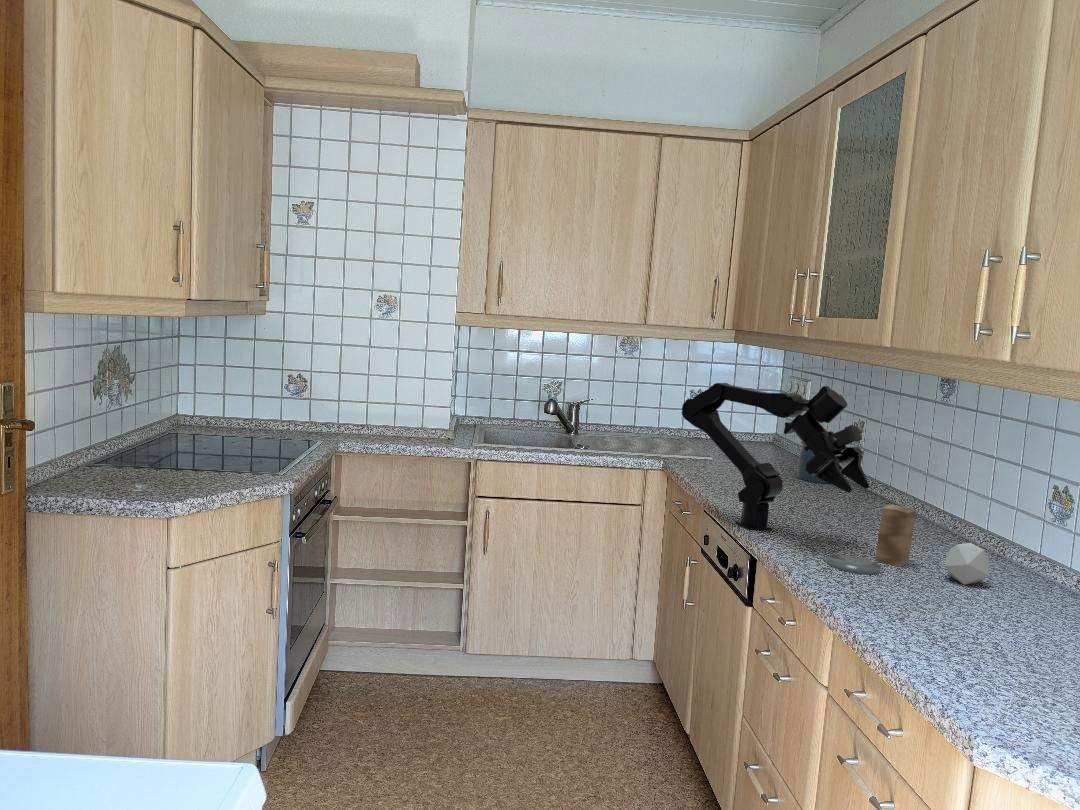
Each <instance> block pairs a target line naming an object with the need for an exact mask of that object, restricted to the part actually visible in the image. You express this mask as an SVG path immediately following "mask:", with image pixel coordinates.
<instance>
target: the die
mask: <svg viewBox="0 0 1080 810" xmlns="http://www.w3.org/2000/svg"><path fill="white" fill-rule="evenodd" d="M945 556H946V557H945V562H944V567H945V569H946V570H947V572H948V574H949V575H950V577H951V578H952V579H954V580H956V581H958V582H959V583H960V584H962V585H964V586H965V585H972V584H976V583H979V582H981V581H982V580H983V579H985V578H986V577H988V576H989V574H990V567H991V566H990V565H991V561H990V559H989V557H988V554H987V553H986V552H985V550H984V549H983V548H981V547H979V546H977V545H975V544H974V543H971V542H966V543H960V544H955V545H954V546H953V547H952V548H951V549H950V550H948V551H947V552H946V555H945Z"/></svg>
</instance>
